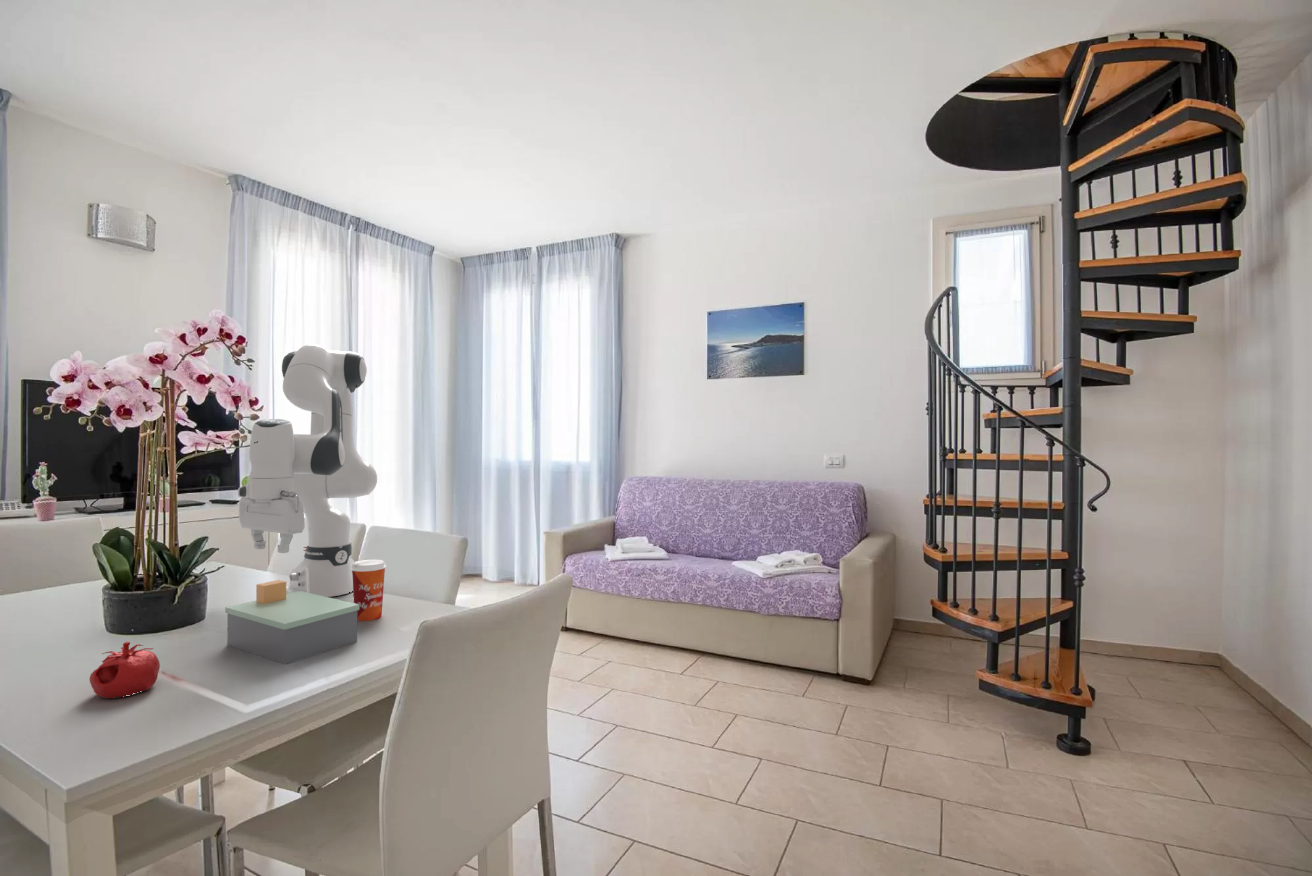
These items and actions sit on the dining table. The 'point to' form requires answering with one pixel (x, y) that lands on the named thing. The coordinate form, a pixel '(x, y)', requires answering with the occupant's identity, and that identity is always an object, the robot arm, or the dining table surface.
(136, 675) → the red tomato
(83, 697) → the dining table surface
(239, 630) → the tub
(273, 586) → the lid
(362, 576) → the coffee cup
